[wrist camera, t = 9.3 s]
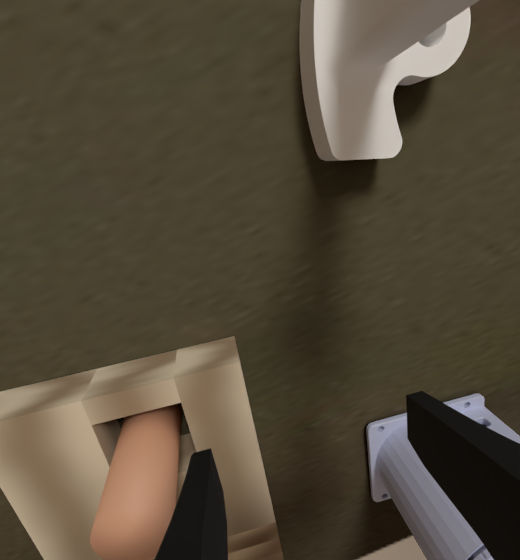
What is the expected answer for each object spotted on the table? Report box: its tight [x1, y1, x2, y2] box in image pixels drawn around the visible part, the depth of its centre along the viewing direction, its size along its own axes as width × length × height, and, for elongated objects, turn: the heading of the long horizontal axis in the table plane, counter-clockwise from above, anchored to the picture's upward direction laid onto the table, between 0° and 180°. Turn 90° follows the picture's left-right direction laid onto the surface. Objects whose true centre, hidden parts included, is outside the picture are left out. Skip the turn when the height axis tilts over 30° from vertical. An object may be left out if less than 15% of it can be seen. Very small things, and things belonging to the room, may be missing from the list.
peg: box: [90, 403, 182, 560], centre depth 18 cm, size 3×3×8 cm
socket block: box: [0, 336, 284, 560], centre depth 20 cm, size 14×14×7 cm
